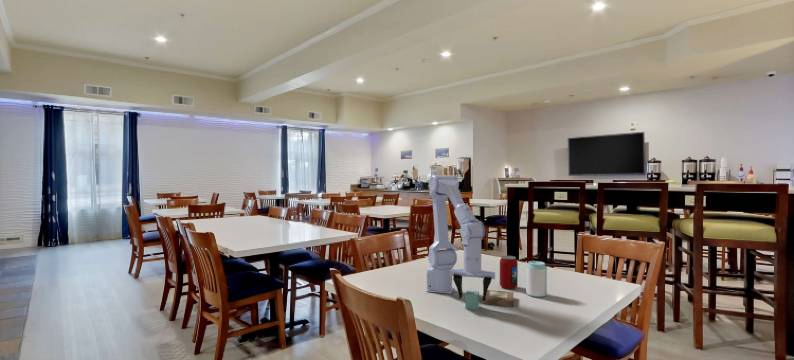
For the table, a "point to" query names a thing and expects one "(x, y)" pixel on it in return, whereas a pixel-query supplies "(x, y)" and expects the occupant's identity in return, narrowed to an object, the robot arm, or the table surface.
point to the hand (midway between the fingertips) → (472, 298)
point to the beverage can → (508, 272)
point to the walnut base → (499, 298)
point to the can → (536, 279)
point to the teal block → (472, 300)
